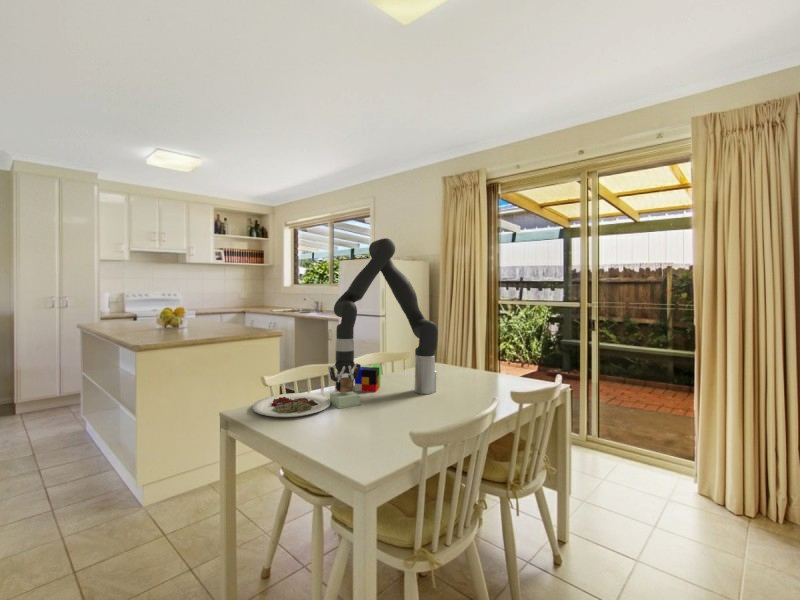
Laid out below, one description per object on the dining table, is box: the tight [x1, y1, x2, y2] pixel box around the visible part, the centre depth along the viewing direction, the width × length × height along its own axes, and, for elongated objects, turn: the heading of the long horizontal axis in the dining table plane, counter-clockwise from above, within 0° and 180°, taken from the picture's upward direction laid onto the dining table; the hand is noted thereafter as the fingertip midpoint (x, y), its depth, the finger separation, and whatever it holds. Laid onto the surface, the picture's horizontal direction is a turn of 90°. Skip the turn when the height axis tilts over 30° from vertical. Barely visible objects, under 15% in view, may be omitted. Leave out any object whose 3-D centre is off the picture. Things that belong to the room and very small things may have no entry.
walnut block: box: [338, 376, 354, 393], centre depth 169 cm, size 5×5×5 cm
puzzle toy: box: [354, 364, 382, 393], centre depth 193 cm, size 10×10×10 cm
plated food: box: [252, 392, 331, 418], centre depth 163 cm, size 30×30×3 cm
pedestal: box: [329, 391, 362, 410], centre depth 169 cm, size 10×10×4 cm
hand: (344, 389), depth 169 cm, fingers closed on walnut block, 4 cm apart
